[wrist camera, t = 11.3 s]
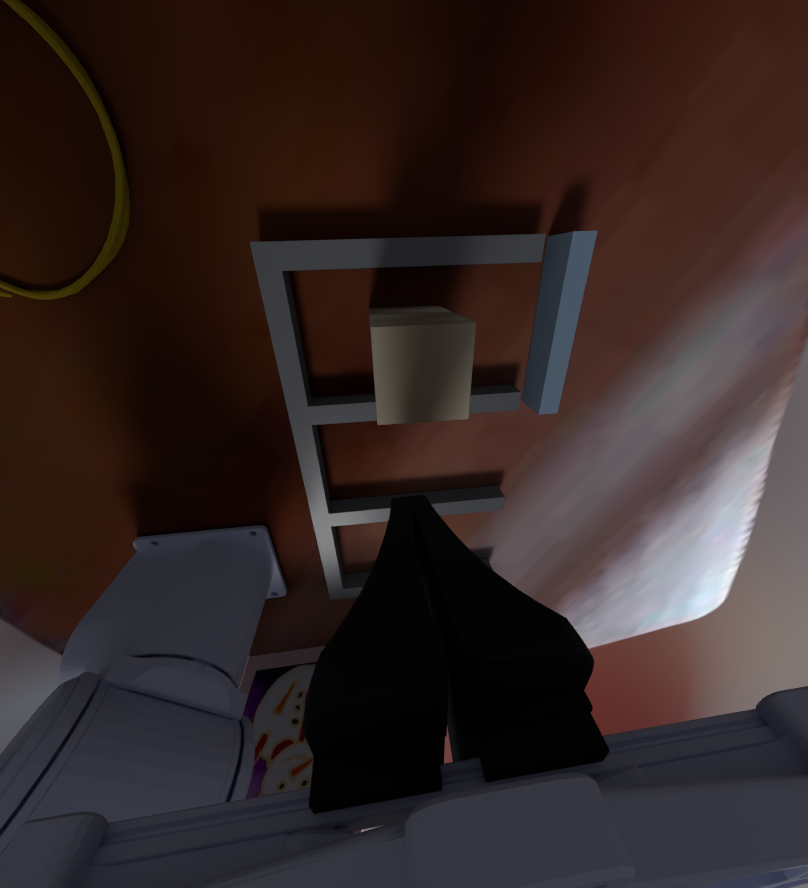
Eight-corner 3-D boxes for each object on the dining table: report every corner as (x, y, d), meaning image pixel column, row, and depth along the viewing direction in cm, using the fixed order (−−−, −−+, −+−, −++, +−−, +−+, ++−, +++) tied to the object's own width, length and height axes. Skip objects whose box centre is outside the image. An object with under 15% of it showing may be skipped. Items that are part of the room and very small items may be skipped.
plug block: (373, 377, 20) (377, 424, 14) (368, 308, 18) (370, 327, 12) (436, 374, 20) (468, 419, 14) (438, 305, 18) (476, 322, 12)
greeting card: (361, 635, 32) (358, 882, 19) (369, 673, 36) (371, 903, 23) (246, 652, 32) (163, 920, 19) (267, 688, 35) (208, 936, 22)
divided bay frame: (332, 584, 28) (329, 609, 26) (259, 244, 16) (243, 240, 14) (508, 564, 30) (519, 587, 27) (568, 235, 17) (597, 230, 15)
